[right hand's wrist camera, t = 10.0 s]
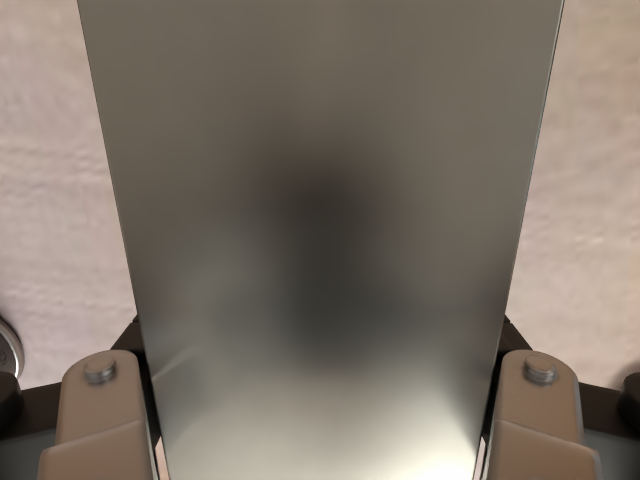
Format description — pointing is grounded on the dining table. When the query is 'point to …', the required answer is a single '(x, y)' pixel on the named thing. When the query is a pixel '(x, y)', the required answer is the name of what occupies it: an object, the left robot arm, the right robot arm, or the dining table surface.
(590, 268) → the dining table surface
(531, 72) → the box
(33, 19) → the dining table surface
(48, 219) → the dining table surface
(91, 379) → the right robot arm
